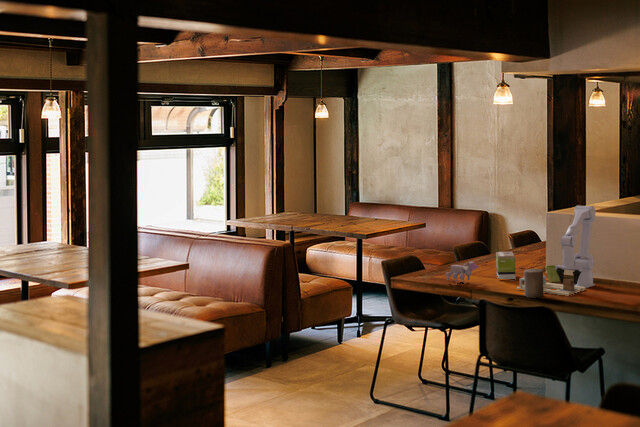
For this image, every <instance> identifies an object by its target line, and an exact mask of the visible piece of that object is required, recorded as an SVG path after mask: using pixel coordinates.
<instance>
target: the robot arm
mask: <svg viewBox="0 0 640 427" xmlns="http://www.w3.org/2000/svg"><path fill="white" fill-rule="evenodd" d="M573 211H574V212H573V213H574V218H573V221H572V224H570V225H569V226H568V228H567V229H566V232H565V234H564V235H562V236H561V238H560V245H561V250H562V264H556V265H555V264H554V265H555V269H557V270H556V272H557V274H558V276H559V279H560V282H559V283H560V284H563V280H565V279H564V274H565V270H566V271H572V275H573V280H574V286H581V287H585V289H588V288H590V287H593V286H595V285H596V284H595V283H594V272H593V268H594V266H595V262H594V256H593V255H592V254H591V253H590V244H591V233H592V227H593V226H592V225H593V223H594V222H595V221H596V214H597V213H596V208H595V206H594V205H576V206H575V207H574V209H573ZM580 226H581V232H580ZM579 232H580V242H579V252H577V253H576V254H575V246H576V244H577V241H578V240H577V239H578V238H577V237H578V234H579Z"/></svg>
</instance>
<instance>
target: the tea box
mask: <svg viewBox="0 0 640 427" xmlns="http://www.w3.org/2000/svg"><path fill="white" fill-rule="evenodd" d="M495 258H496V259H495V260H496V262H495V263H496V266H495V268H496V276H498V277H497V279H498V278H499V279H515V280H514V281H516V280H517V279H516V256H515V254H514V253H513V251H496V252H495Z"/></svg>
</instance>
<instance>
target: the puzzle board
mask: <svg viewBox="0 0 640 427" xmlns="http://www.w3.org/2000/svg"><path fill="white" fill-rule="evenodd" d="M574 288H575V289H578V290H575V291H573V292H570V291H561V290H560V289H563V283H556V282H554V283H552V282H546V284H543V292H545V293H550V294H549V295H551V294H557V295H556V296H559V295H565V296H564V297H567V296H568V297H570V296H569V295H571V294H573V295H575V294H574V293H576V294H577V292H579V293H581V292H583V291H586V288H585V287H581V286H574ZM516 289H522V290H525V289H524V284H523V287H519V286H517V287H516ZM551 289H556V290H551ZM580 291H581V292H580ZM571 296H572V295H571Z"/></svg>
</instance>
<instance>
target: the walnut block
mask: <svg viewBox="0 0 640 427" xmlns="http://www.w3.org/2000/svg"><path fill="white" fill-rule="evenodd" d="M562 284H563V290H573V289H574V279H572V278H569V279H568V278H565V279H564V280H563V283H562Z"/></svg>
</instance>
